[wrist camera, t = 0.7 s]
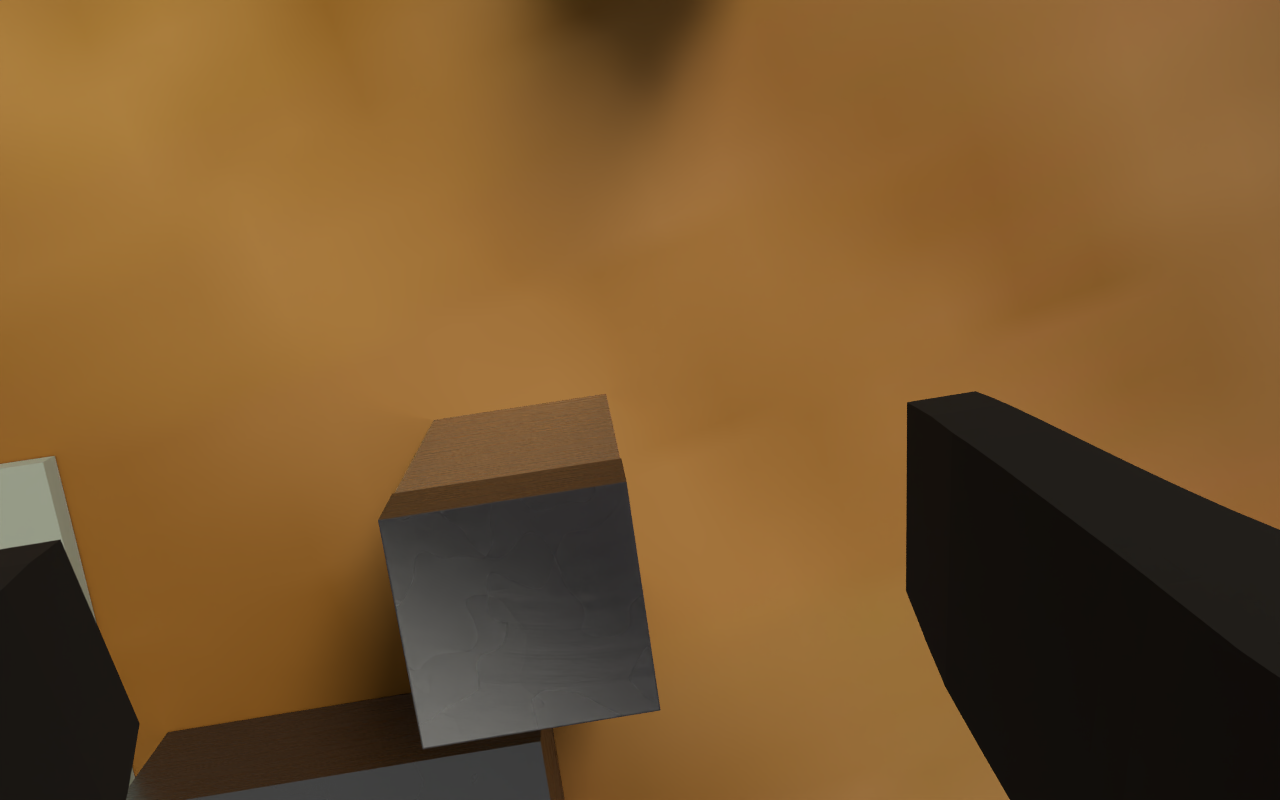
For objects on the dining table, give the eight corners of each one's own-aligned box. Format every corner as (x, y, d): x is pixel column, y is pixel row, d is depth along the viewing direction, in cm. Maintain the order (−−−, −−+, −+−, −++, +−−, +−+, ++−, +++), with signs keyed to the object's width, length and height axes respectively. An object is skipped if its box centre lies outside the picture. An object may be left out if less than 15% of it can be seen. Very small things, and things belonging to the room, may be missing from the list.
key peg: (631, 557, 27) (660, 709, 19) (462, 584, 27) (422, 749, 19) (606, 393, 26) (626, 481, 18) (432, 419, 26) (377, 520, 18)
